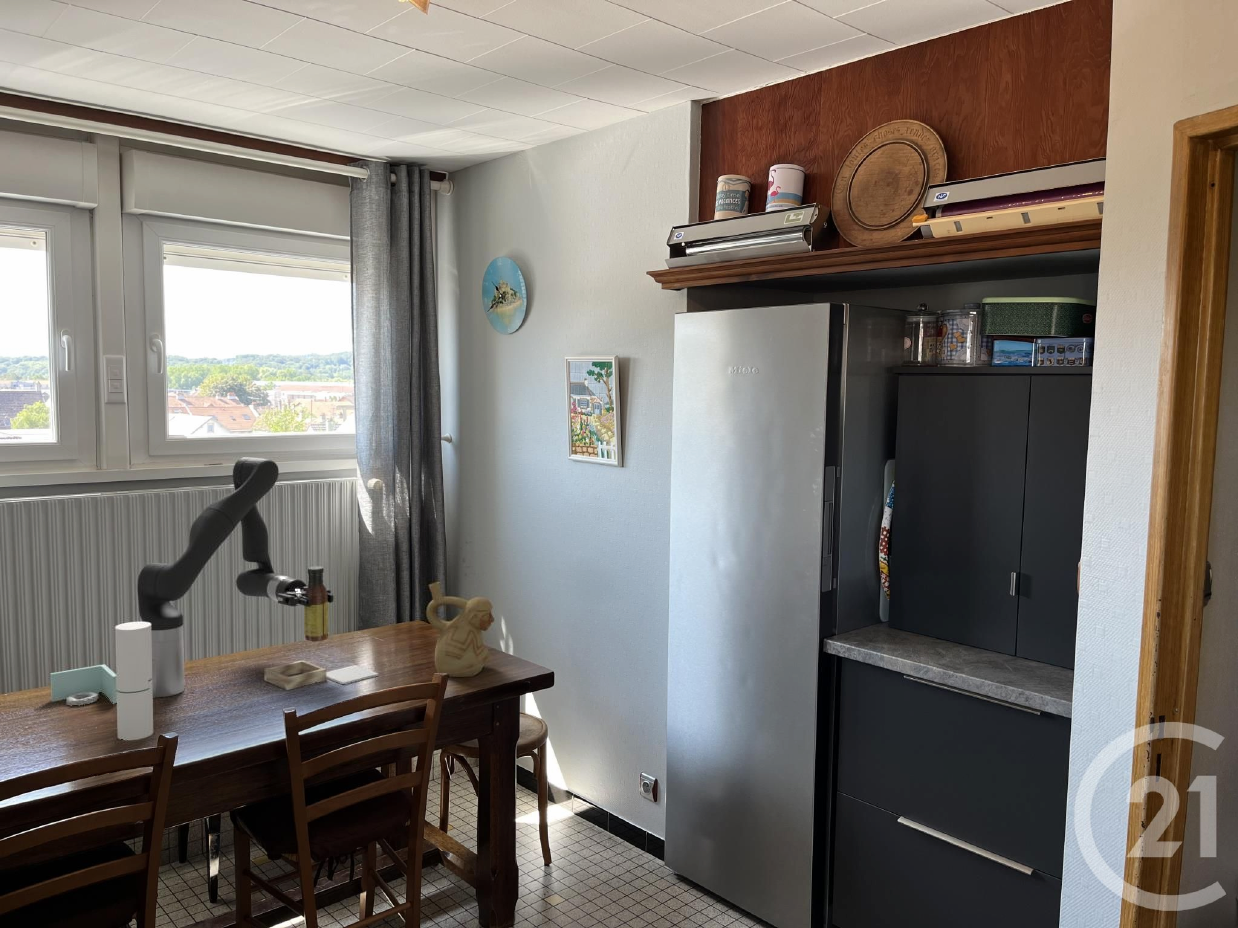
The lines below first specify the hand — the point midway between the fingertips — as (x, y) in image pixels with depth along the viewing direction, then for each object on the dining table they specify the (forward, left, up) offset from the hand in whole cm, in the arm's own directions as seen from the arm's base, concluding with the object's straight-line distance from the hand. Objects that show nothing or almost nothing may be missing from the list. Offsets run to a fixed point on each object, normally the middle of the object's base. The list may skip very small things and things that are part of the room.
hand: (321, 600), depth 248 cm
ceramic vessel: (+31, -20, -22) cm, 43 cm away
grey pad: (+7, -2, -22) cm, 23 cm away
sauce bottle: (0, +3, -11) cm, 11 cm away
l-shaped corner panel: (-50, +26, -22) cm, 60 cm away
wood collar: (-5, +5, -22) cm, 23 cm away
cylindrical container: (-50, -4, -22) cm, 55 cm away
